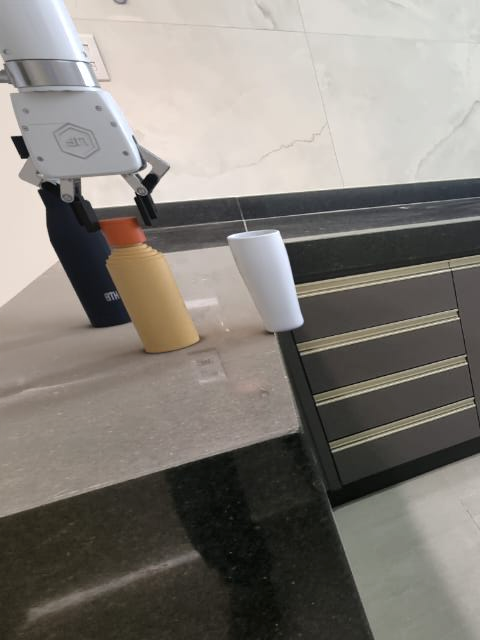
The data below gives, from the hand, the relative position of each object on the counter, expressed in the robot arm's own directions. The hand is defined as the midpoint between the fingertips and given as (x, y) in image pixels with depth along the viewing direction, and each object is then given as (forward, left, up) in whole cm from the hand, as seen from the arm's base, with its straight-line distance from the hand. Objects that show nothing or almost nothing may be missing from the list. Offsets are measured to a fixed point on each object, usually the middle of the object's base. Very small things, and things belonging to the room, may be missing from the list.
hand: (123, 226), depth 73 cm
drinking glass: (+12, +9, -18) cm, 23 cm away
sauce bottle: (0, 0, -18) cm, 18 cm away
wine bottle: (-24, +7, -18) cm, 31 cm away
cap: (0, 0, -2) cm, 2 cm away
